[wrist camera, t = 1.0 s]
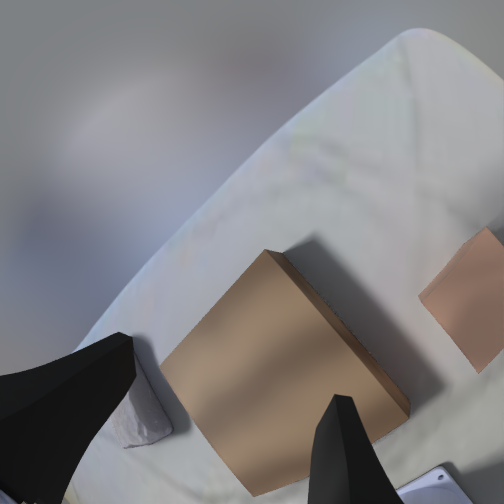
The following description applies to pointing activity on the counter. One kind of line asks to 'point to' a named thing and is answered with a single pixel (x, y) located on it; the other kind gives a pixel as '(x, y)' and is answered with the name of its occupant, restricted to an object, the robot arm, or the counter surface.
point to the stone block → (140, 414)
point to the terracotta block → (471, 298)
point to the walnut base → (275, 375)
